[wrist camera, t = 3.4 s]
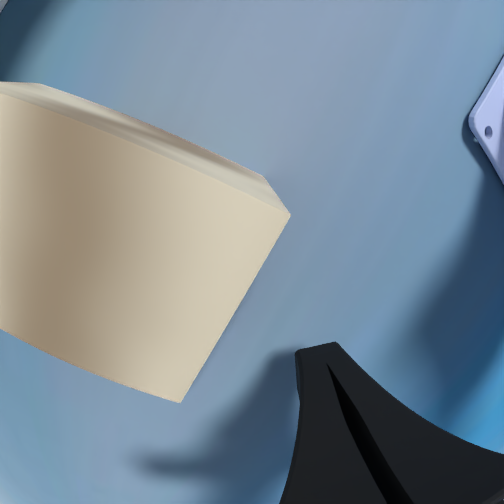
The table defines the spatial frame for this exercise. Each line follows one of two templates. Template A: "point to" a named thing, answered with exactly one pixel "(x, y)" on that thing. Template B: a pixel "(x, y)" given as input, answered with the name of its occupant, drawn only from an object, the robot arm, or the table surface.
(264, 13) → the table surface
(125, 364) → the maple block
